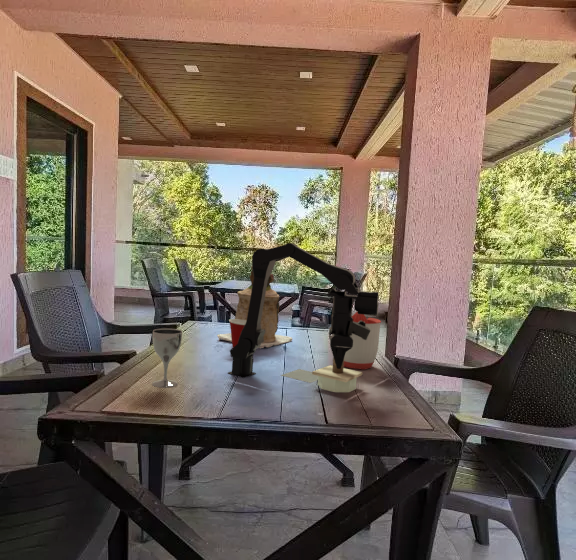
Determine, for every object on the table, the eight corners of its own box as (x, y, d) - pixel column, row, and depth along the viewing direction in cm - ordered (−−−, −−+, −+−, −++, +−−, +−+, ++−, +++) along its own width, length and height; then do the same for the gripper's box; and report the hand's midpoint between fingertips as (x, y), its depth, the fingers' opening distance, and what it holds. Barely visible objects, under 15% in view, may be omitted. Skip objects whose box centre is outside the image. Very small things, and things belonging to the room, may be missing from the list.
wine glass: (149, 380, 132) (151, 328, 131) (177, 379, 135) (180, 328, 134) (151, 388, 125) (154, 333, 124) (181, 387, 128) (184, 333, 127)
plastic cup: (259, 355, 172) (261, 323, 172) (231, 355, 168) (232, 323, 167) (250, 348, 182) (252, 318, 182) (223, 348, 178) (225, 318, 178)
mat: (310, 384, 139) (310, 382, 139) (280, 376, 145) (280, 375, 145) (328, 377, 149) (328, 375, 148) (299, 370, 155) (299, 368, 155)
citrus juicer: (379, 362, 173) (383, 309, 172) (375, 374, 156) (380, 315, 155) (338, 357, 177) (341, 305, 176) (329, 367, 160) (334, 310, 159)
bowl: (344, 395, 130) (345, 381, 130) (312, 387, 136) (313, 374, 136) (359, 387, 139) (360, 374, 139) (329, 380, 144) (330, 368, 144)
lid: (345, 382, 129) (347, 364, 129) (312, 374, 136) (313, 356, 135) (362, 374, 139) (363, 357, 138) (330, 367, 145) (331, 351, 144)
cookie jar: (264, 350, 182) (270, 268, 180) (214, 340, 193) (219, 264, 191) (294, 341, 203) (299, 268, 201) (247, 332, 215) (251, 264, 213)
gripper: (373, 319, 126) (368, 375, 127) (366, 310, 145) (362, 359, 146) (332, 316, 127) (328, 372, 128) (330, 307, 145) (327, 356, 146)
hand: (338, 364), depth 137 cm, fingers open, 9 cm apart
